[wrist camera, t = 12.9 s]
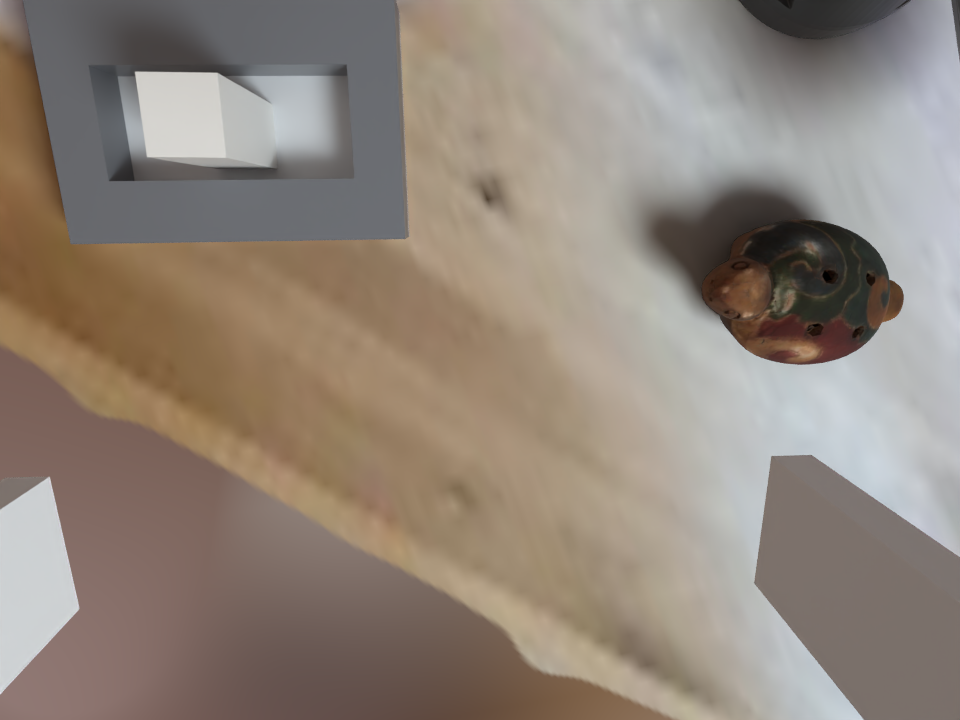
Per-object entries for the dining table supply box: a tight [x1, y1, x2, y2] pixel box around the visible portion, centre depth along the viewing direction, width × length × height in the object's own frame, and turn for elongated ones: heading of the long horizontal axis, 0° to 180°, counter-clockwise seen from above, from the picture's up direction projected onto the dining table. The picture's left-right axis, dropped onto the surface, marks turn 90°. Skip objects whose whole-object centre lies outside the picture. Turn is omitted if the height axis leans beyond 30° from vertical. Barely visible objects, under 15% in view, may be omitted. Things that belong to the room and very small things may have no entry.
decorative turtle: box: [702, 219, 904, 365], centre depth 39 cm, size 10×15×8 cm, turn 89°
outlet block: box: [23, 0, 409, 244], centre depth 36 cm, size 21×14×4 cm, turn 91°
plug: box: [135, 72, 278, 169], centre depth 33 cm, size 4×4×9 cm
